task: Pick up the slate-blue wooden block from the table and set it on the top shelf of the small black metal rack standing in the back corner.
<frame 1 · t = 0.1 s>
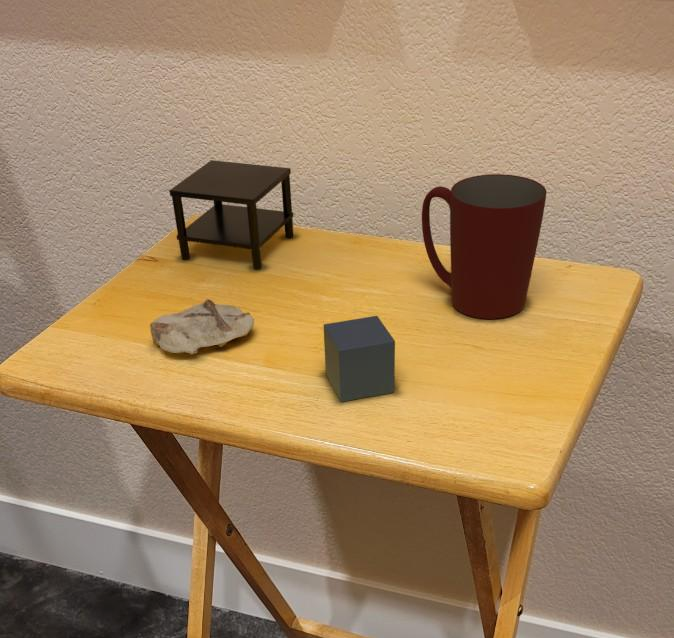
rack: (238, 247, 102), on the table
block: (359, 383, 79), on the table
stone: (204, 341, 87), on the table
mug: (473, 301, 91), on the table
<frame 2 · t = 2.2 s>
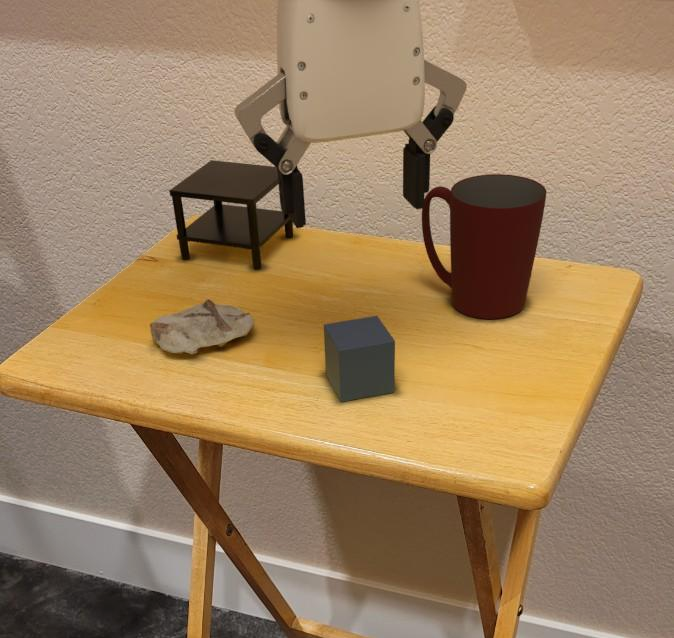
hand: (355, 212, 69), 15 cm above the table, tool pointing down, fingers open, 9 cm apart
nothing on the table moved.
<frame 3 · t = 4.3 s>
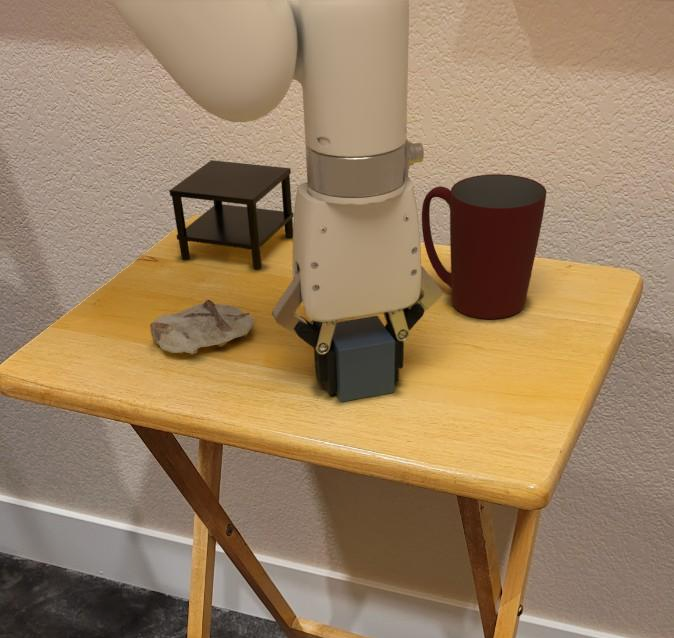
hand: (359, 379, 79), 0 cm above the table, tool pointing down, fingers closed on block, 5 cm apart
block: (359, 383, 79), on the table, touching gripper
everything else where it was.
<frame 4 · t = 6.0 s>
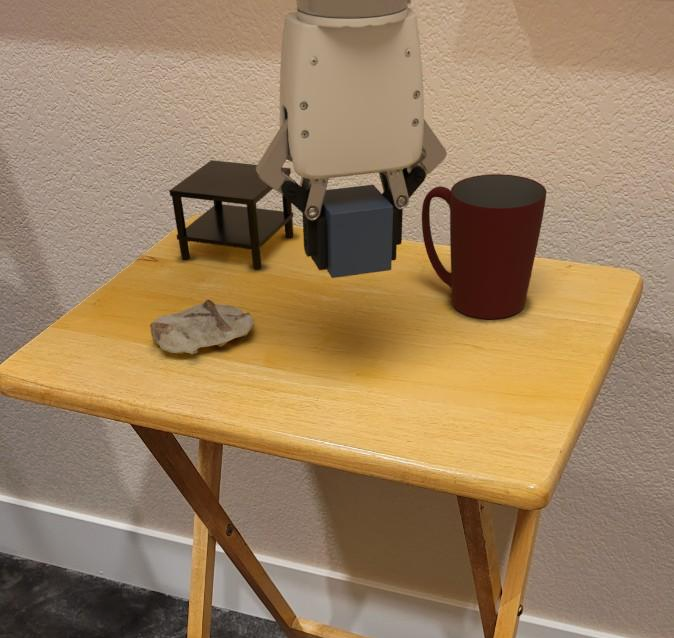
hand: (352, 256, 71), 12 cm above the table, tool pointing down, fingers closed on block, 5 cm apart
block: (352, 262, 72), point 11 cm above the table, touching gripper
everything else where it was.
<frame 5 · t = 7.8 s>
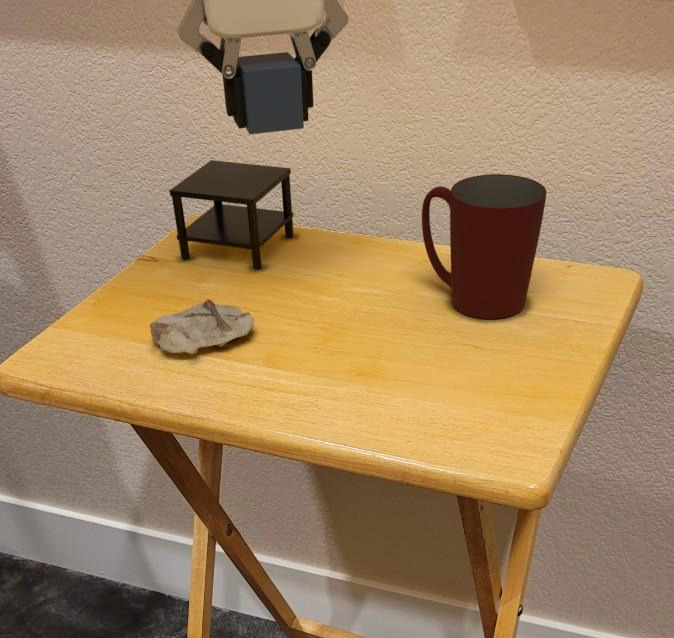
hand: (270, 118, 80), 17 cm above the table, tool pointing down, fingers closed on block, 5 cm apart
block: (271, 123, 80), point 17 cm above the table, touching gripper
everything else where it was.
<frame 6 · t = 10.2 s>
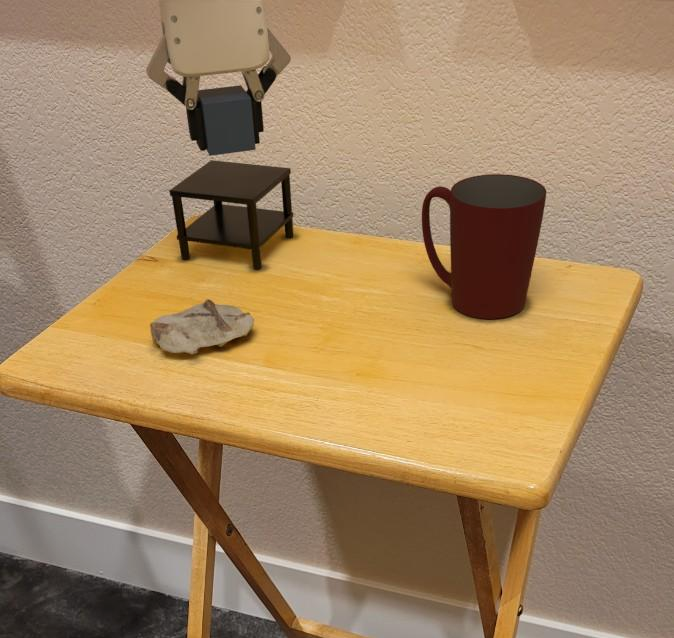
hand: (227, 141, 94), 11 cm above the table, tool pointing down, fingers closed on block, 5 cm apart
block: (228, 145, 94), point 11 cm above the table, touching gripper
everything else where it was.
when the fingers open (8 cm above the table, at t = 11.6 s): block stays where it is, resting on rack.
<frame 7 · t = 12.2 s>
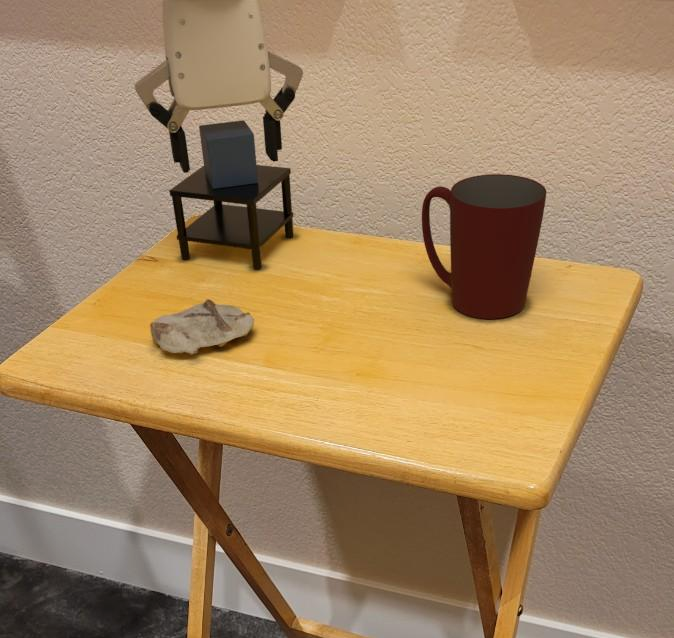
hand: (228, 163, 96), 9 cm above the table, tool pointing down, fingers open, 9 cm apart
block: (231, 178, 97), point 8 cm above the table, touching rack
everything else where it was.
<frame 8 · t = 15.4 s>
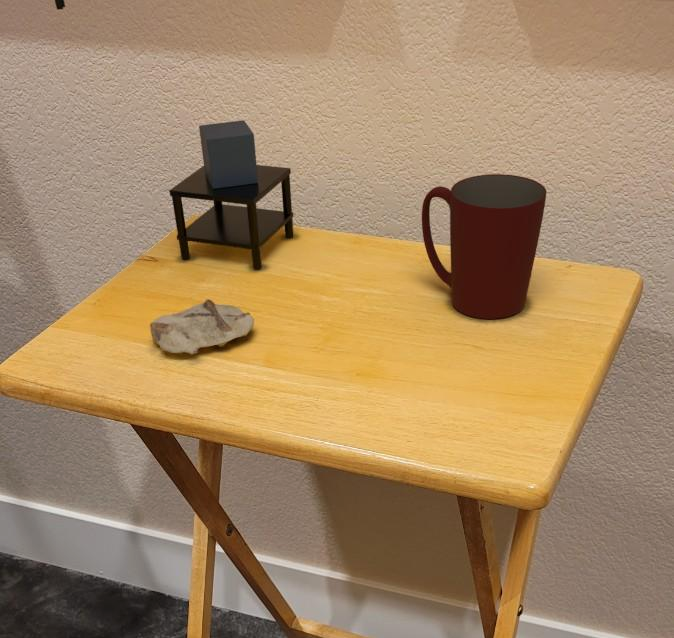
hand: (117, 1, 75), 26 cm above the table, tool pointing down, fingers open, 9 cm apart
nothing on the table moved.
at the end: block 0.0 cm off-centre on the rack, point 7.6 cm above the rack's base; block tilted 0°; the gripper is holding nothing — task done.
